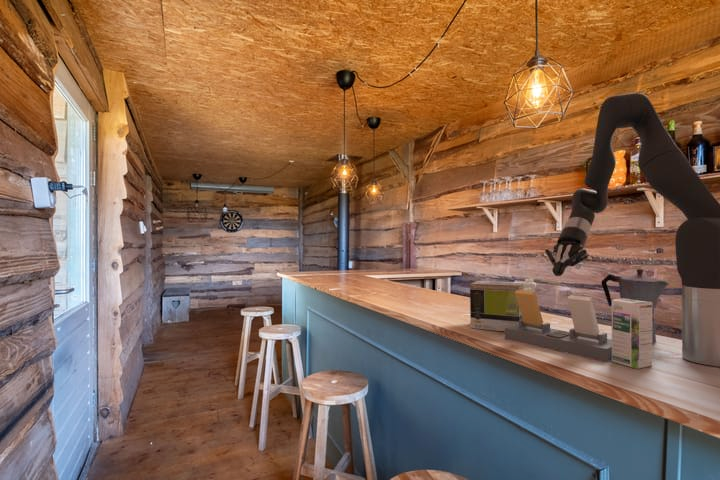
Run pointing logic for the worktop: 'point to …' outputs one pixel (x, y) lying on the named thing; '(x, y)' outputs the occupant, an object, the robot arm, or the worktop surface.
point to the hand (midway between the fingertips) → (556, 274)
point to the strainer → (529, 285)
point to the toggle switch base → (562, 341)
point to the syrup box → (632, 333)
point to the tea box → (494, 305)
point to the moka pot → (637, 290)
